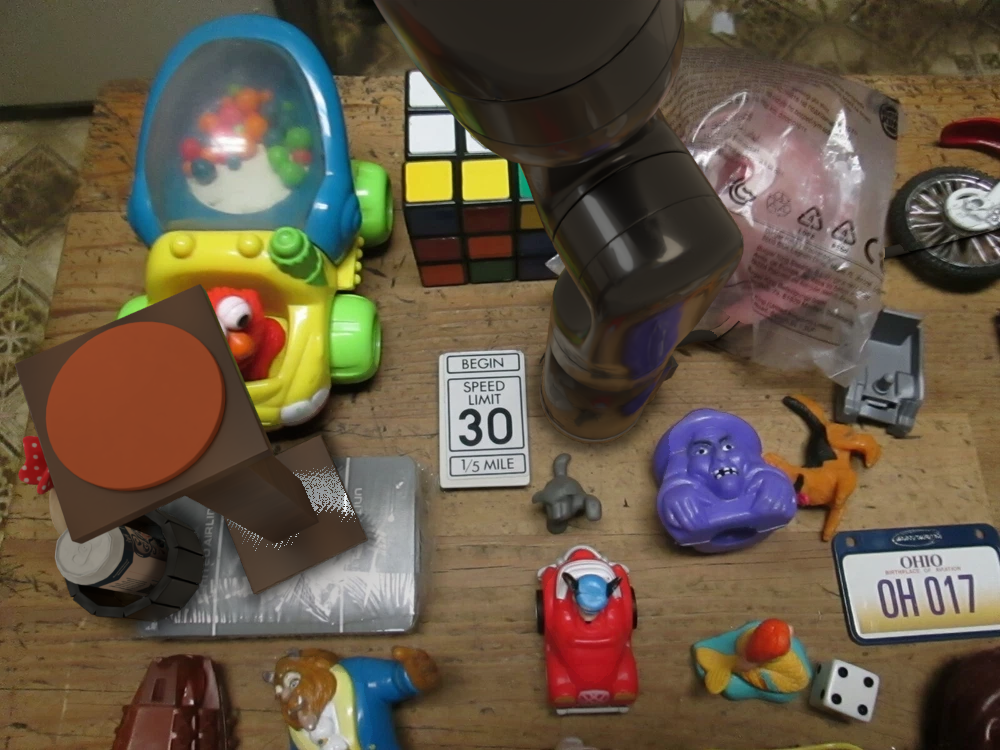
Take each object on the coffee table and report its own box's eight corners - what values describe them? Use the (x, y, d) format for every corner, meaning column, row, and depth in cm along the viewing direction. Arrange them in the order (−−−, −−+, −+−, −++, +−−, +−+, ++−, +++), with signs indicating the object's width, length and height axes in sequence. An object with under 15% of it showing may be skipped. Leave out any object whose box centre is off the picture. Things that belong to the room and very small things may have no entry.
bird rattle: (156, 522, 72) (150, 419, 72) (94, 560, 61) (86, 438, 61) (85, 524, 72) (78, 421, 72) (10, 562, 61) (0, 441, 61)
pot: (184, 498, 71) (156, 484, 65) (218, 591, 68) (192, 584, 63) (86, 544, 70) (50, 533, 64) (118, 640, 67) (83, 637, 62)
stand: (322, 437, 73) (200, 283, 44) (368, 540, 70) (269, 449, 41) (214, 487, 71) (13, 363, 42) (256, 595, 68) (71, 541, 39)
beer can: (190, 547, 70) (128, 524, 58) (167, 604, 68) (100, 591, 57) (137, 531, 70) (66, 506, 59) (113, 588, 69) (36, 572, 57)
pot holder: (192, 299, 43) (187, 294, 43) (251, 443, 41) (247, 439, 40) (30, 369, 42) (24, 365, 41) (81, 521, 39) (74, 519, 39)
